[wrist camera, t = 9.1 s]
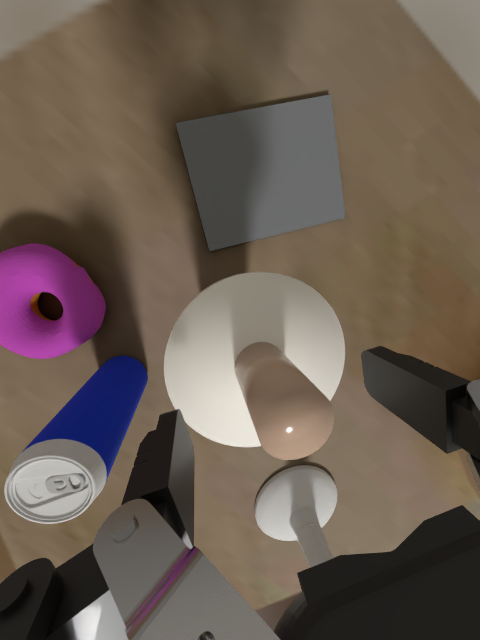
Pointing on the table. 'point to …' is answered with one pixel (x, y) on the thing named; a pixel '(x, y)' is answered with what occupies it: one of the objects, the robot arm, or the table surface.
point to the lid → (257, 364)
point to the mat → (264, 170)
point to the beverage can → (77, 446)
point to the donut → (23, 293)
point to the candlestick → (298, 509)
